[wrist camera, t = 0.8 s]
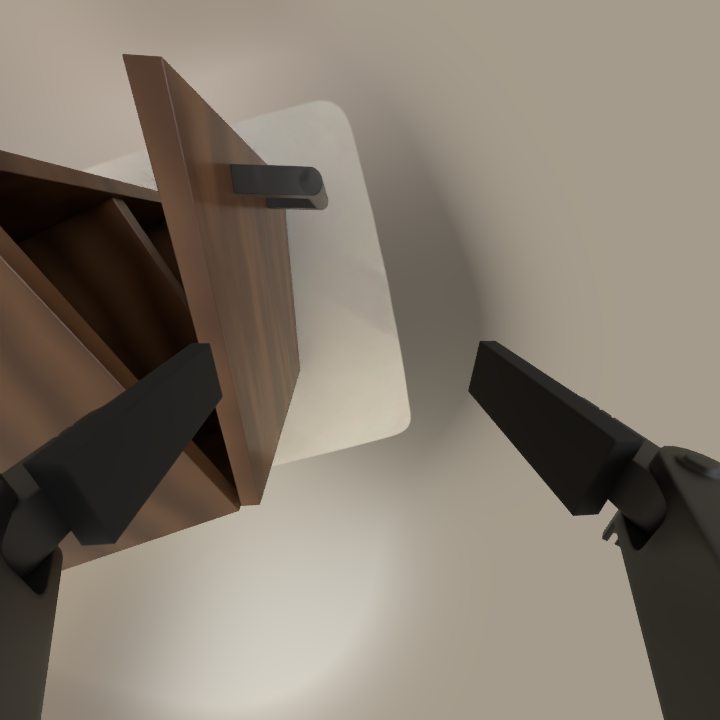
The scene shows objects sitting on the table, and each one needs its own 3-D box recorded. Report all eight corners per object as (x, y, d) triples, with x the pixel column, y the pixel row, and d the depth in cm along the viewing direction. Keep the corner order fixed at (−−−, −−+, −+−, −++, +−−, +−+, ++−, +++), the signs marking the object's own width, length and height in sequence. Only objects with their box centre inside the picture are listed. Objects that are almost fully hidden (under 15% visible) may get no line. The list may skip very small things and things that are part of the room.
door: (329, 181, 32) (311, 65, 11) (334, 369, 44) (330, 501, 22) (270, 179, 32) (120, 52, 10) (290, 370, 43) (241, 506, 21)
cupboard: (190, 199, 32) (-134, 114, 10) (290, 372, 43) (239, 511, 21) (69, 255, 34) (-434, 287, 12) (196, 408, 45) (58, 572, 23)
